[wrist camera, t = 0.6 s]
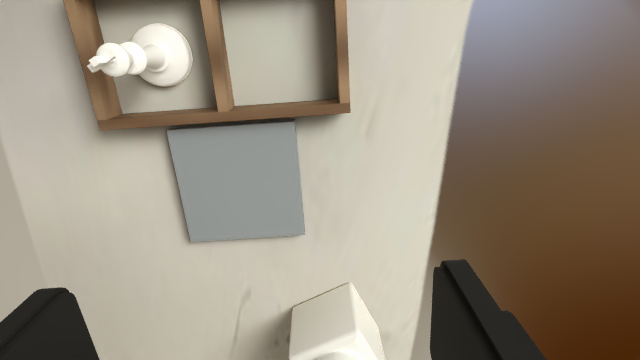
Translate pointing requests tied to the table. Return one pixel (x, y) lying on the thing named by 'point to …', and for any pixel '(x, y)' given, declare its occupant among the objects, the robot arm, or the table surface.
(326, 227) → the table surface
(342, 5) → the bay frame
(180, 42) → the chess piece
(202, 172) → the pad
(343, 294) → the medicine bottle
